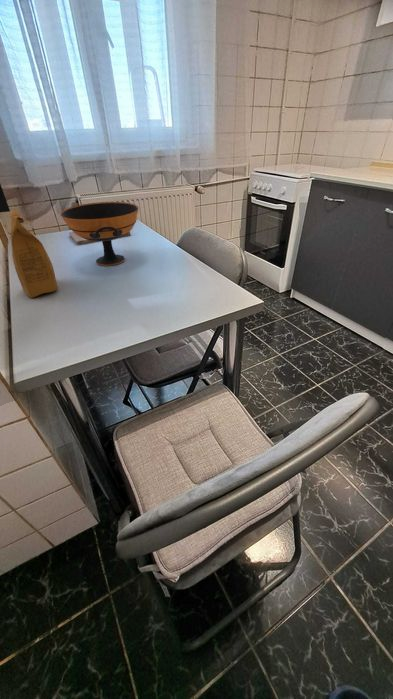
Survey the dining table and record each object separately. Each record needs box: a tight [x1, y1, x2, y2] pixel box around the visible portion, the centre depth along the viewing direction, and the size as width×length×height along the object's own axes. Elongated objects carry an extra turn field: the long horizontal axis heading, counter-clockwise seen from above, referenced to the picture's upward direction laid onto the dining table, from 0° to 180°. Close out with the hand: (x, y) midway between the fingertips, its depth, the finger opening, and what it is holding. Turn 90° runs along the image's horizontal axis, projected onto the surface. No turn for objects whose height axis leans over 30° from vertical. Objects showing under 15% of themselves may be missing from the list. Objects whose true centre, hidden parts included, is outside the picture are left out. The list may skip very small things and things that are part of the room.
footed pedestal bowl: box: [59, 201, 140, 267], centre depth 104 cm, size 36×26×18 cm
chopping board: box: [68, 231, 131, 246], centre depth 136 cm, size 24×16×2 cm, turn 121°
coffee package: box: [8, 209, 58, 299], centre depth 85 cm, size 10×12×22 cm
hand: (3, 211), depth 63 cm, fingers closed
